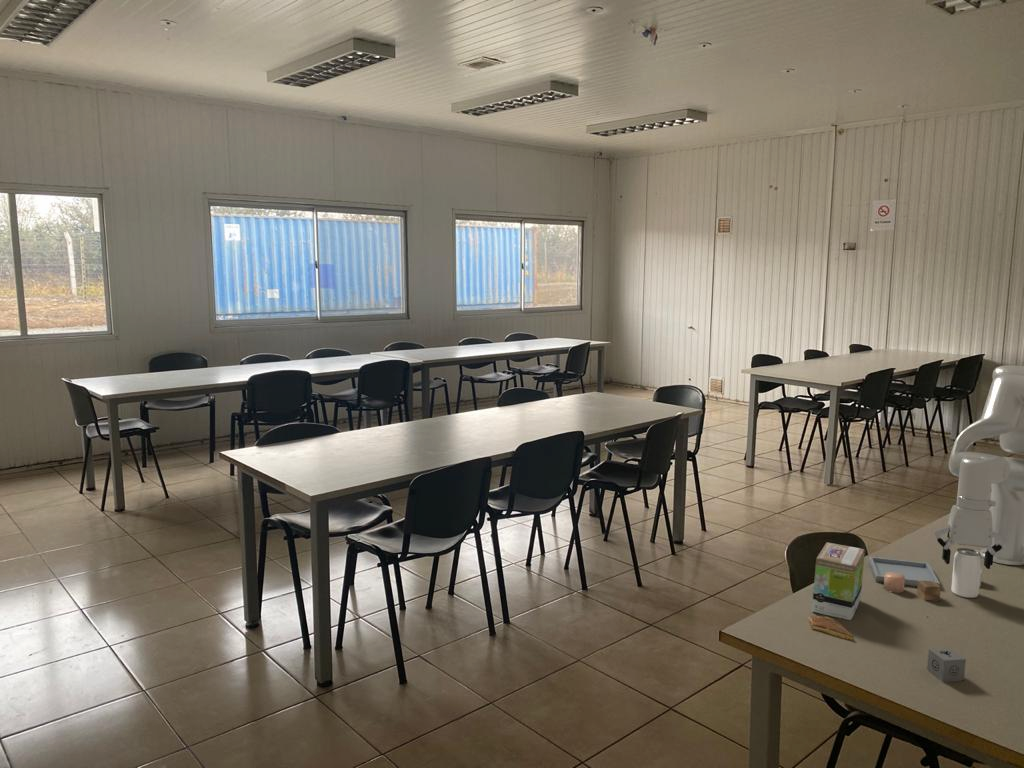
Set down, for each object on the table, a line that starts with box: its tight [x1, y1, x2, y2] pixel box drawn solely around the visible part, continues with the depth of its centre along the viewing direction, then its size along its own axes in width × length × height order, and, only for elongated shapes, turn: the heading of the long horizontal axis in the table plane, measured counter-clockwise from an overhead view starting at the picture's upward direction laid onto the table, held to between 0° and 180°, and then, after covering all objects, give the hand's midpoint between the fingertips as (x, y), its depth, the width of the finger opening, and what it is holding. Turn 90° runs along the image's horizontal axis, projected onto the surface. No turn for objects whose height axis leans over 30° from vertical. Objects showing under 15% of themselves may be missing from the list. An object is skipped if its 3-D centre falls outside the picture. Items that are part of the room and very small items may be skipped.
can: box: [950, 547, 983, 599], centre depth 208 cm, size 6×6×12 cm
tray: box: [868, 556, 941, 588], centre depth 221 cm, size 16×16×2 cm
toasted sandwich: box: [807, 615, 855, 641], centre depth 186 cm, size 11×8×2 cm
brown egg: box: [883, 572, 905, 594], centre depth 211 cm, size 5×5×4 cm
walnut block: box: [916, 581, 941, 602], centre depth 206 cm, size 4×4×4 cm
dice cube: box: [926, 647, 967, 683], centre depth 166 cm, size 5×5×5 cm
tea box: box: [811, 542, 866, 621], centre depth 199 cm, size 15×10×15 cm, turn 148°
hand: (966, 564), depth 207 cm, fingers open, 9 cm apart
